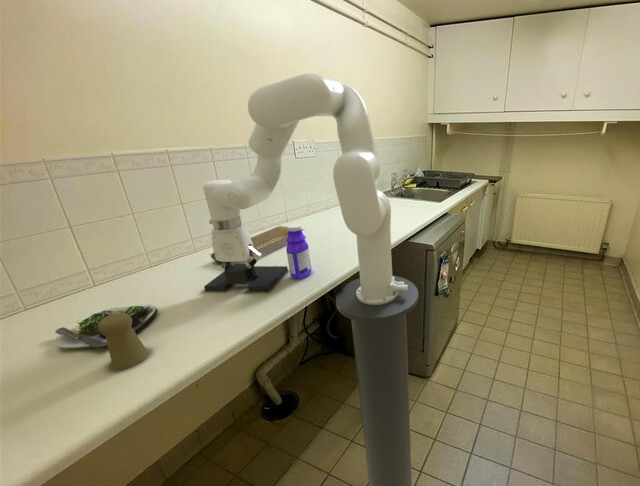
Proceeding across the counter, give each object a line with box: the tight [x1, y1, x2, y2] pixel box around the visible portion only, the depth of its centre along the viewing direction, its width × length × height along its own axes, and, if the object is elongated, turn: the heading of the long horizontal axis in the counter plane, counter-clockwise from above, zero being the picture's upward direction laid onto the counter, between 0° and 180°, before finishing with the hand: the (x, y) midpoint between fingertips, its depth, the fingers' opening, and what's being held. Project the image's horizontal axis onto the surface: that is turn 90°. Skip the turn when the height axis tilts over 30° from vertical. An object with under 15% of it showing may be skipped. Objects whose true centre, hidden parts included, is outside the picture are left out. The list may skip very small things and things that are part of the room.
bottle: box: [285, 223, 312, 280], centre depth 101 cm, size 7×6×17 cm
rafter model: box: [208, 225, 305, 265], centre depth 126 cm, size 35×14×6 cm, turn 158°
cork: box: [98, 313, 149, 370], centre depth 66 cm, size 6×6×11 cm
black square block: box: [223, 264, 255, 285], centre depth 96 cm, size 6×6×4 cm
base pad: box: [204, 265, 289, 293], centre depth 101 cm, size 20×14×2 cm
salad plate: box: [54, 304, 159, 349], centre depth 77 cm, size 19×18×5 cm
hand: (241, 277), depth 97 cm, fingers closed on black square block, 6 cm apart
